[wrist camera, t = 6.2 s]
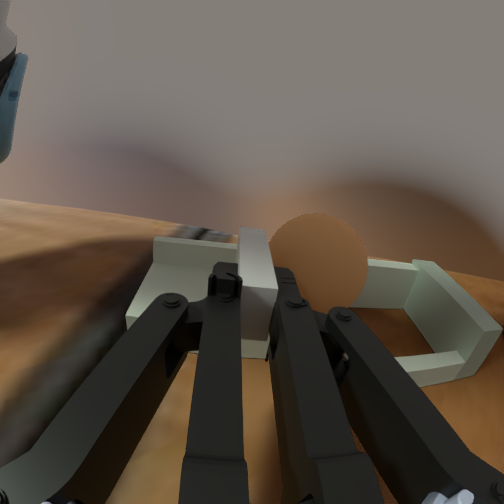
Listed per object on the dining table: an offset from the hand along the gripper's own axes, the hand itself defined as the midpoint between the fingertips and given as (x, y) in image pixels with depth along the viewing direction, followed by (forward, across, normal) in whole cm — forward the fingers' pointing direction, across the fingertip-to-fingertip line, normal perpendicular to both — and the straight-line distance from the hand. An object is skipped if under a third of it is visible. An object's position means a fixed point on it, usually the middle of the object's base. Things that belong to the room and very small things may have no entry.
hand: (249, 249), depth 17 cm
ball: (+1, +5, -1) cm, 5 cm away
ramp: (+1, +6, -7) cm, 10 cm away
